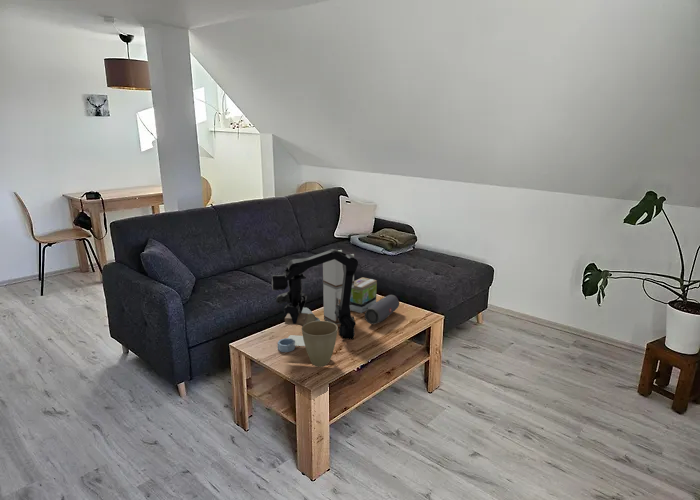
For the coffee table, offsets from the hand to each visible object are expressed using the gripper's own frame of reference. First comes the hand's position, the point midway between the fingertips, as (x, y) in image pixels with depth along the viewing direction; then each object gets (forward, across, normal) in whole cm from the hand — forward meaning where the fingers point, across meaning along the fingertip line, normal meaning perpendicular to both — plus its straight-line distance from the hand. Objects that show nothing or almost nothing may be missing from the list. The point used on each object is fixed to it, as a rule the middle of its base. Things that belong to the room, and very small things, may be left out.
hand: (296, 320), depth 213 cm
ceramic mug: (+11, -22, +1) cm, 24 cm away
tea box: (+11, -46, +25) cm, 54 cm away
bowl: (+11, +8, -3) cm, 14 cm away
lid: (+1, 0, 0) cm, 1 cm away
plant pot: (+11, +17, +14) cm, 25 cm away
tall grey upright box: (+11, -28, +15) cm, 34 cm away
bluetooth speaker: (+11, -32, +37) cm, 50 cm away
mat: (+11, 0, 0) cm, 11 cm away
